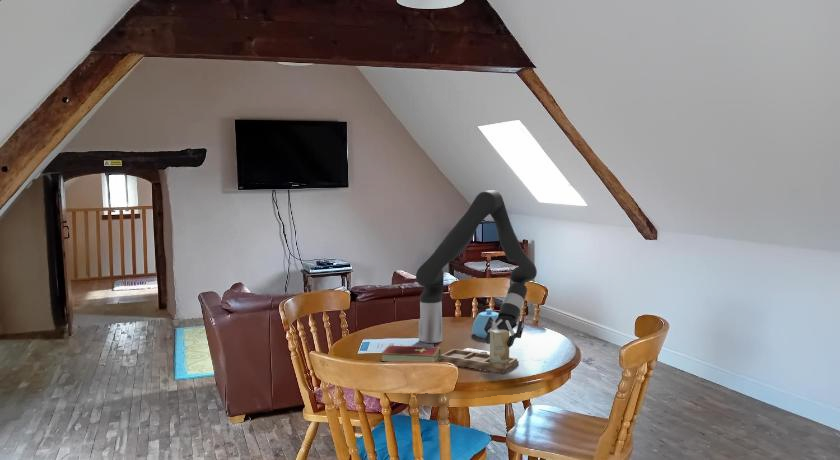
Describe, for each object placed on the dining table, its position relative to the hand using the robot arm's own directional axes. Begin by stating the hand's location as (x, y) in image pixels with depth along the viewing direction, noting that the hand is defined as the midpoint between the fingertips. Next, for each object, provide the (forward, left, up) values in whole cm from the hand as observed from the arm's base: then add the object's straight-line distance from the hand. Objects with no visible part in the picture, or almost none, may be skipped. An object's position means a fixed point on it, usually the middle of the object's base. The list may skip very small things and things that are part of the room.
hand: (498, 344), depth 233 cm
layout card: (-16, +13, -9) cm, 22 cm away
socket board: (-9, +1, -9) cm, 12 cm away
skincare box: (0, +1, -7) cm, 7 cm away
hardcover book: (-34, -6, -9) cm, 36 cm away
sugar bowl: (-25, +42, -9) cm, 50 cm away
